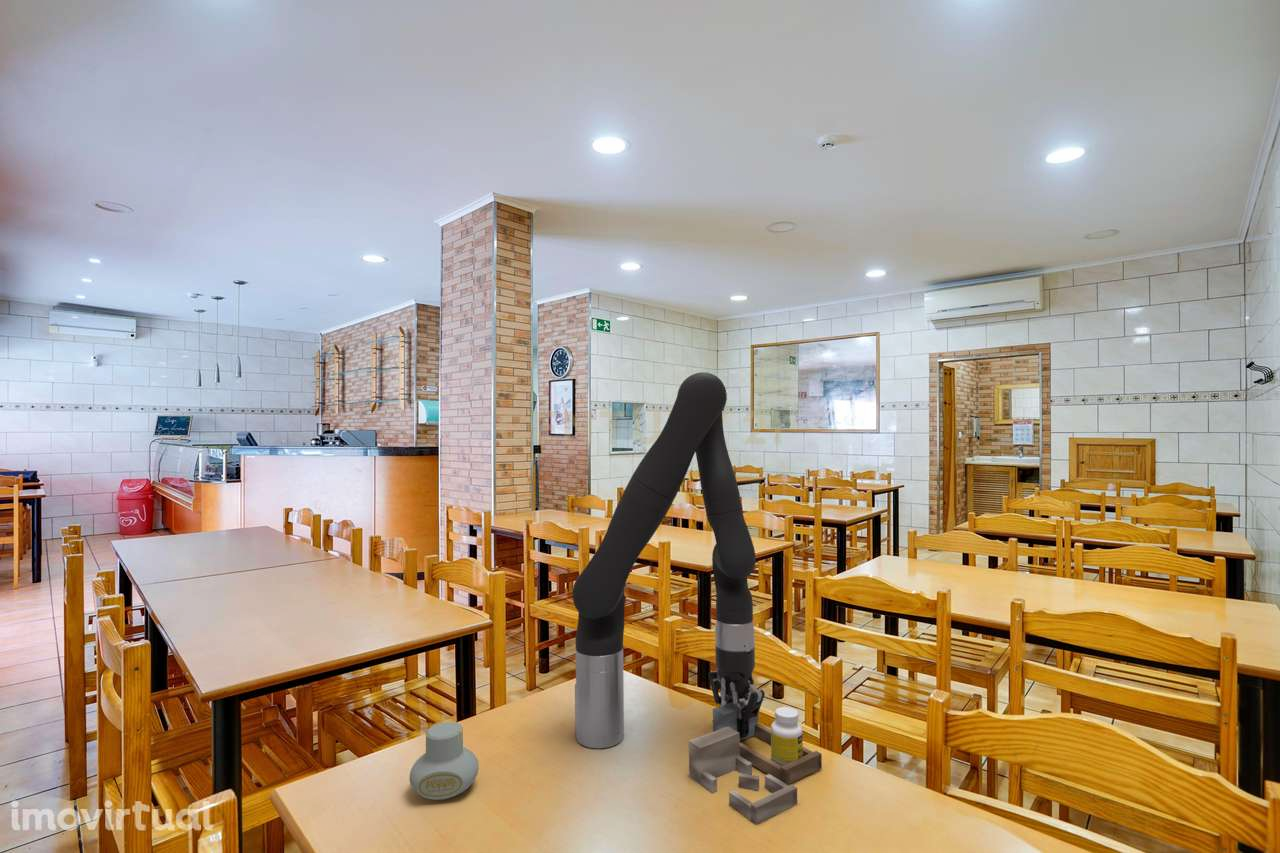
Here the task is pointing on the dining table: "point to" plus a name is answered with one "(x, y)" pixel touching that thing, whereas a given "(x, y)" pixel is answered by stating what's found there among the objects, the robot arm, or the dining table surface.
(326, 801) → the dining table surface
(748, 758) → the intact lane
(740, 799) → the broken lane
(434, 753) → the air freshener
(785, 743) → the supplement bottle
